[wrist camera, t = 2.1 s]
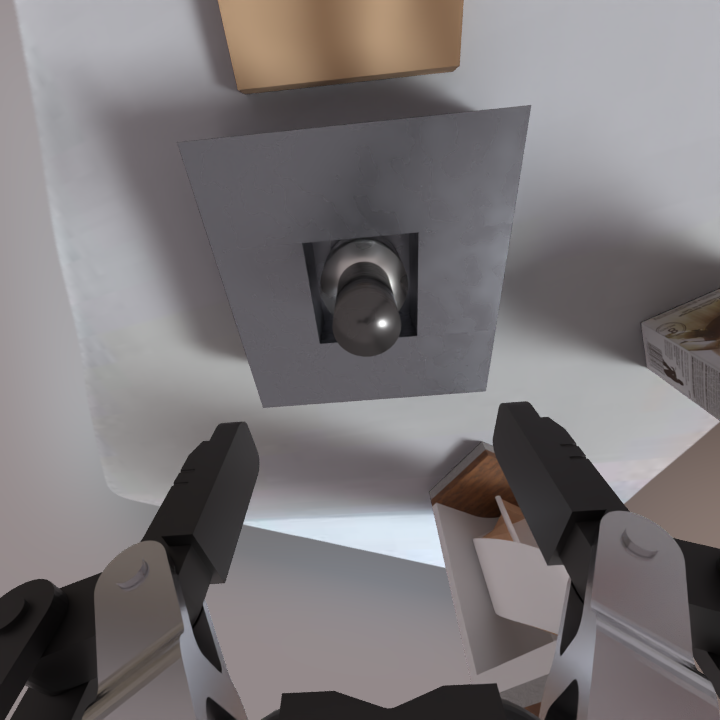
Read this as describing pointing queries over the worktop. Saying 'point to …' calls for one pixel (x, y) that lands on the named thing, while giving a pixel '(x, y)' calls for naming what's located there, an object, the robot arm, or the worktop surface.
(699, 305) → the coffee box
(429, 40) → the oak pad
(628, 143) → the worktop surface
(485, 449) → the white shelf stand
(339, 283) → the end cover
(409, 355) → the housing
